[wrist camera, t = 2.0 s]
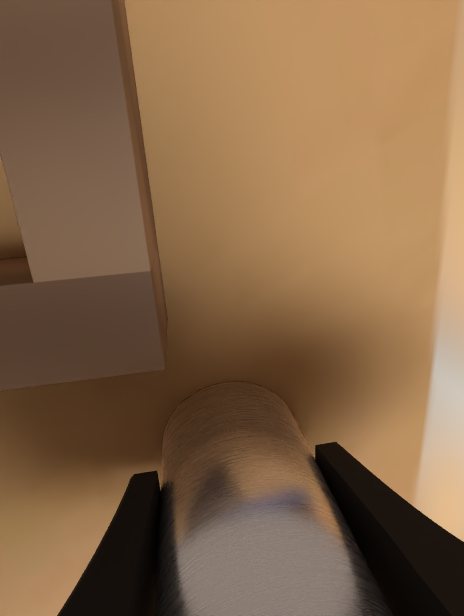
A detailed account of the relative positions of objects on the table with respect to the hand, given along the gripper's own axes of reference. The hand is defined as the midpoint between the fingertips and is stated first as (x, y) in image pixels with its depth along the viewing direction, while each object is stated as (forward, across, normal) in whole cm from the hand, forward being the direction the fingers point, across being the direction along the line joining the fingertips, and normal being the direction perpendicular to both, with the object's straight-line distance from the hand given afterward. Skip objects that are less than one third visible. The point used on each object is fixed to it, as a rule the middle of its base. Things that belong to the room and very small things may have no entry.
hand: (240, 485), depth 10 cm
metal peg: (+2, 0, 0) cm, 2 cm away
